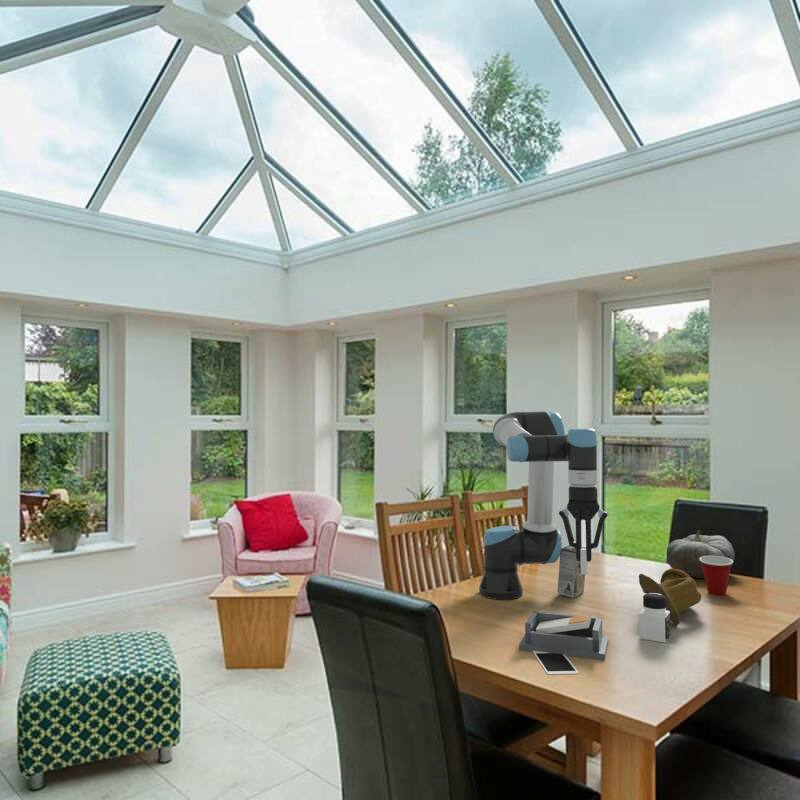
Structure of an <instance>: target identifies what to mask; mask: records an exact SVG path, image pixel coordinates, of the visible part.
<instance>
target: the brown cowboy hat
mask: <svg viewBox="0 0 800 800" xmlns="http://www.w3.org/2000/svg"><path fill="white" fill-rule="evenodd" d="M659 580H660V581H659V583H658V582H657V581H655V580H654V579H653V578H652V577H650V576H647V575H645V574H644V573H639V575H638V582H639V585H640V587H641V590H642V592H643V593H644V594H648V593H657V594H661V595H663V596H665V597H666V610H667V611H670V622H671V623H672V625H673V626H674V627H678V625H680V623H681V621H680V620H681V619H680V616H679V615H680V613H682V612H684V611H686V610H688V609H690V608H692V607H693V606H695V605H697V604H699V603H700V602H701V599H702V593H701V592H700V591H699V590H698V586H697V583H696V580H695V579H694V578H692V576H691V575H688V574H687V573H685V572H684V571H682V570H679V569H673V568H669V569H666V570H665V571H664V572H662V574H661V578H660V579H659Z"/></svg>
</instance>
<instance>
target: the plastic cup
mask: <svg viewBox="0 0 800 800" xmlns="http://www.w3.org/2000/svg"><path fill="white" fill-rule="evenodd" d="M699 560H700V561H701V564H702V567H703V572H704V582H705V586H706V590H707V593H708V594H709V595H715V596H724V595H726V594H727V590H728V584H729V578H730V572H731V568H732V566H733V563H734V561H733V560H732V559H729V558H726V557H722V556H703V557H700V559H699Z"/></svg>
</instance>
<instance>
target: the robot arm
mask: <svg viewBox="0 0 800 800" xmlns="http://www.w3.org/2000/svg"><path fill="white" fill-rule="evenodd" d="M564 426H565V425H564V422H563V420H562V417H561V416H560V414H559V413H558V412H556V411H546V410H545V411H515V412H514V411H513V412H509V413H507V414H505V415H502V416H500V417H499V418H498V419H497V420H496V421H495V423H494V424H493V428H492V434H493V438H494V439H495V441H496V442H497V443H498V444H499V445H501V446H503V447H506V456H507V459H508V460H509V462H514V463H515V462H517V463H525V462H526V463H527V462H528V479H527V481H528V482H527V484H528V486H527V519H526V521H525V522H523V524H522V529H521V530H520V529H519V530H518V528H517V526H516V525H500V526H494V527H491V528H488V529H487V530H485V531H484V533H483V542H482V545H483V573H482V577H481V580H480V584H479V586H478V587H479V588H478V589H479V591H478V592H479V593H480V594H481V596H482V595H483V596H482V597H484V596H485V598H487V597H490V598H489V599H493V598H496V600H513V598H514V599H517V598H520V596H521V597H522V596H523V592H524V590H523V585H522V581H521V580H520V577H519V572H518V565H525V564H526V565H529V564H531V565H533V564H536V565H538V564H539V565H540V564H542V565H547V564H554V563H556V562H557V561H558V560H559V559H560V553H561V548H563V547H562V534H561V532H560V530H558V529H557V526H556V524H555V523H554V522H553V513H554V512H553V511H554V508H553V507H554V506H553V505H554V503H553V502H554V473H555V472H554V471H555V470H554V469H555V462H568V466H567V467H568V468H567V470H568V475H567V477H568V484H569V487H568V503H567V504H566V507H564V509H560V511H559V512H558V515H559V517H560V518H561V519H562V522H563V525H564V529H565V533H566V537H567V541H568V544H569V545H570V546H572V547H575V548H576V559H577V561H581V574H585V576H586V575H587V574H588V573H589V572H588V567H589V566H588V562H590V563H591V561H592V557H593V555H592V550H593V549H596V548H598V546H599V544H600V540H601V534H602V530H603V528H604V527H603V526H604V522H605V520H606V519H607V517H608V516H609V513H608V511H604V510H603V509H601V508H600V504H599V502H598V487H597V486H596V485H598V459H597V458H598V450H597V449H598V447H597V445H598V440H597V432H596V430H595V429H594V428H569V430H568V431H567V434H566V433H565V427H564ZM597 513H598V515H597ZM569 514H570V515H571V516H572V517H573V518H574V520H575V538H574V534H573V530H572V526H571V523H570V519H569ZM596 515H597V516H598V518H599V519H598V522H597V526H596V529H595V530H596V531H595V535H594V539H593V542H592V520H593V519H594V518H595V516H596ZM582 521H585V523H584V524H585V548H581V547H583V545H582V543H583V541H582ZM569 545H568V546H569ZM480 594H479V595H480Z"/></svg>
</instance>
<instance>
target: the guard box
mask: <svg viewBox="0 0 800 800" xmlns="http://www.w3.org/2000/svg"><path fill="white" fill-rule="evenodd" d="M575 616H582V615H580V614H579V615H578V614H570V613H569V614H568V613H558V612H548V611H537V610H532V611H531V613H530V615H529V616H528V618H527V619H526V621H525V622H524V629H525V630H524V632H525V633H524V636H523V637H522V639H521V641H520V642H519V644H518V650H519V651H524V652H533V651H539V652H547V653H556V654H564V655H565V656H566V657H577V658H585V659H593V660H600V659H601V660H602V661H605V660H606V655H607V651H608V647H609V636H603V617H600V616H591V615H590V618H591V622H590V625H589V628H584V629H577V630H570V631H563V632H556V633H542V632H536V628H537V626H538V625H539V623H540V622H544V621H551V620H558V619H565V618H571V617H575Z"/></svg>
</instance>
